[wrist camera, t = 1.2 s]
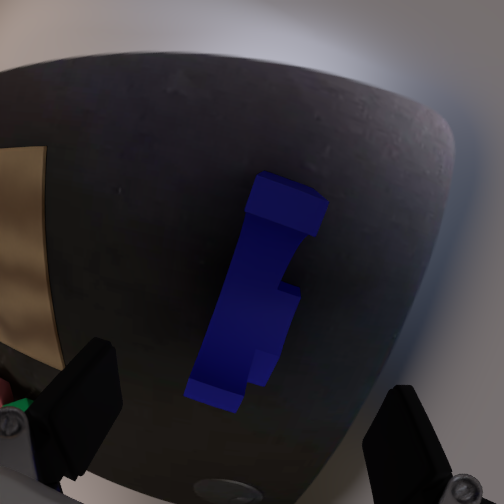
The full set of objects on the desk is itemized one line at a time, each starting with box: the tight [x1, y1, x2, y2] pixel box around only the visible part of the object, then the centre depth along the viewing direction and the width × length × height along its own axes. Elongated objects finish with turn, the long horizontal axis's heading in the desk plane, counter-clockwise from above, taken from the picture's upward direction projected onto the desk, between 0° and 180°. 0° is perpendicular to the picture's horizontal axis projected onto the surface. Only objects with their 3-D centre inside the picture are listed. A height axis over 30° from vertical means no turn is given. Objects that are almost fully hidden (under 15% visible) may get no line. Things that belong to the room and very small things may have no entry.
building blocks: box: [0, 378, 34, 412], centre depth 24 cm, size 8×8×12 cm
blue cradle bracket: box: [184, 170, 329, 413], centre depth 16 cm, size 12×4×6 cm, turn 161°
